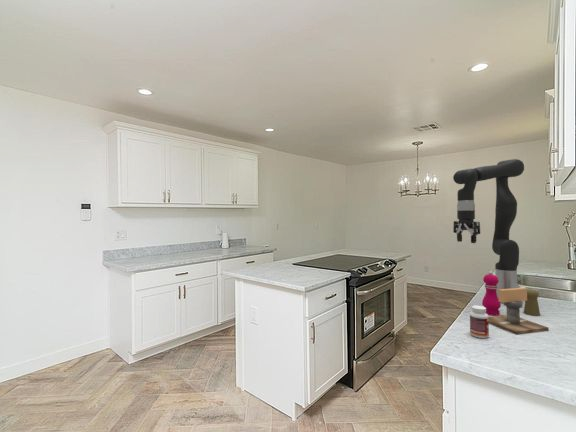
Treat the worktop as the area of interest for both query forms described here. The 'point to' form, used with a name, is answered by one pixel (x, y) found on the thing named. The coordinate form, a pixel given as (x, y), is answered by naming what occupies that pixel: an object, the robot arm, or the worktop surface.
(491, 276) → the pepper mill
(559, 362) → the worktop surface
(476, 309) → the pill bottle
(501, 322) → the square stand base
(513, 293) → the tan long piece
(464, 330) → the worktop surface
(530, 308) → the cork
